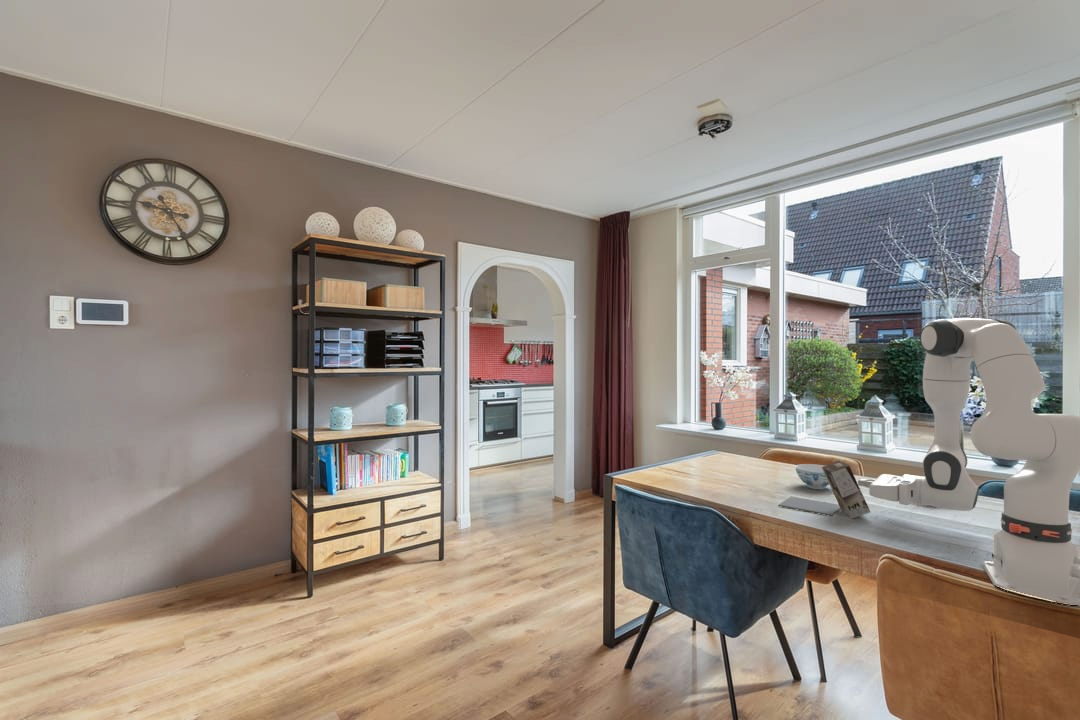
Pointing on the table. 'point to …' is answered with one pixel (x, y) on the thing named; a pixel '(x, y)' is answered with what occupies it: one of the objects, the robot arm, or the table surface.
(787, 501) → the slate mat
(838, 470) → the coffee box
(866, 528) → the table surface
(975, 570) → the table surface
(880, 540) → the table surface
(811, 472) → the chinaware
